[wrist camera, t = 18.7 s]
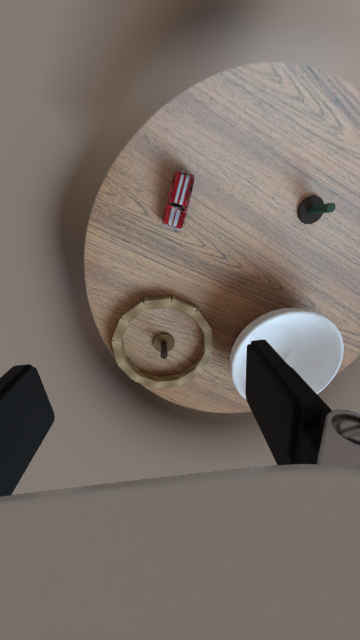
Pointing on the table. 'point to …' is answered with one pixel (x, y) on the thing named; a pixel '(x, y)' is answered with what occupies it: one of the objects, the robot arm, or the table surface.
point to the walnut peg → (164, 344)
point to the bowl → (292, 345)
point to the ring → (170, 379)
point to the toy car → (178, 199)
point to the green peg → (313, 209)
